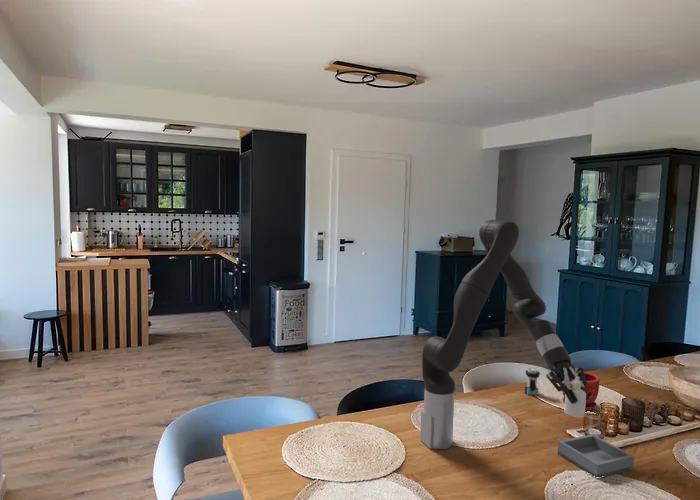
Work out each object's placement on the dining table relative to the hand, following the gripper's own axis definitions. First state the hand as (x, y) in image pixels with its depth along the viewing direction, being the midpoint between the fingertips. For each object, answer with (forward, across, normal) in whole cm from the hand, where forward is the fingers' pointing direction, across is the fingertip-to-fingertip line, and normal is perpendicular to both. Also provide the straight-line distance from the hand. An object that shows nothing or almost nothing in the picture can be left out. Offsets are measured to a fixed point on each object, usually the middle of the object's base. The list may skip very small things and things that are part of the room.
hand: (580, 401), depth 144 cm
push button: (-17, +21, +40) cm, 48 cm away
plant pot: (-6, +28, +29) cm, 41 cm away
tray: (+16, 0, +7) cm, 17 cm away
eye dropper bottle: (+2, 0, +5) cm, 6 cm away
